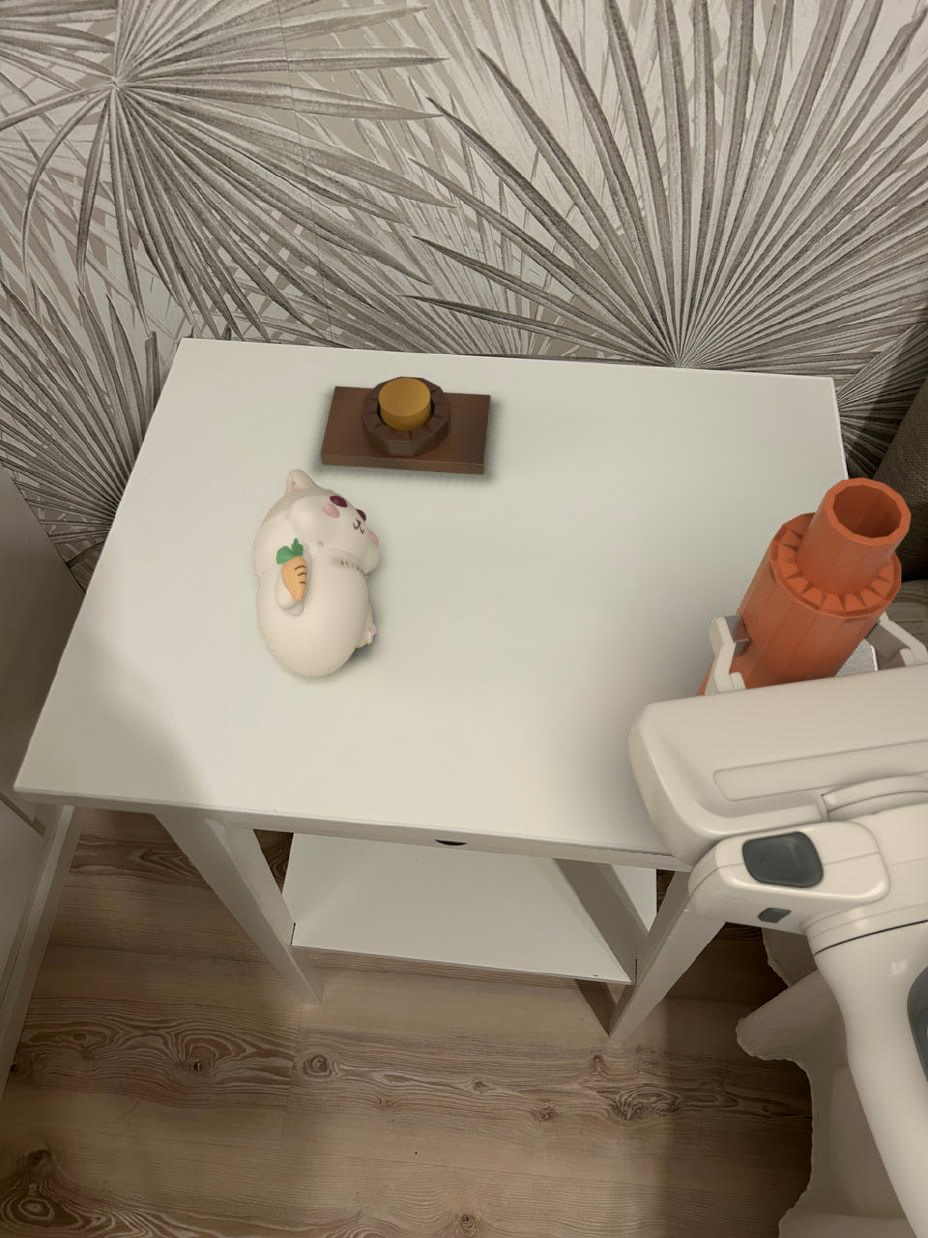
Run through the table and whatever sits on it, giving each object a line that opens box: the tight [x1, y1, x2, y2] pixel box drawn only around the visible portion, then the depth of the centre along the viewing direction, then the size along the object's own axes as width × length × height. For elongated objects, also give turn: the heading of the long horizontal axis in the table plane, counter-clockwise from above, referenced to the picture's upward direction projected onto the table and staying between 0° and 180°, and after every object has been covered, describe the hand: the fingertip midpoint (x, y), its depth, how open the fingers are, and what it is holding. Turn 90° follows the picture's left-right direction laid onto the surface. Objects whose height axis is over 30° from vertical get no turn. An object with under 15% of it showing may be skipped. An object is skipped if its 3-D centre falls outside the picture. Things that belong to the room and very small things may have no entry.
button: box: [379, 378, 431, 431], centre depth 70 cm, size 4×4×2 cm
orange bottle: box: [695, 477, 912, 696], centre depth 48 cm, size 6×6×22 cm
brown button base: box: [319, 376, 492, 475], centre depth 72 cm, size 13×8×3 cm, turn 85°
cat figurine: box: [251, 468, 382, 678], centre depth 61 cm, size 10×8×15 cm
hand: (790, 611), depth 48 cm, fingers closed on orange bottle, 6 cm apart
